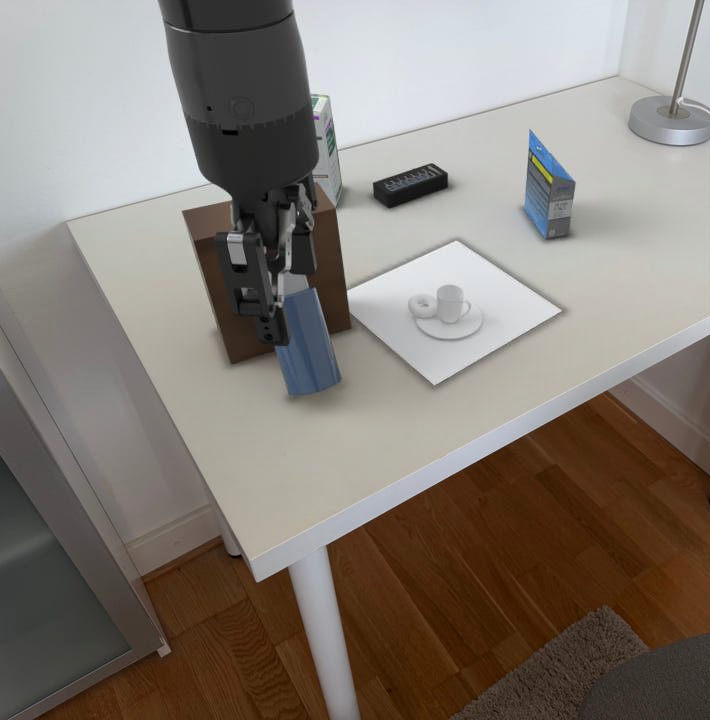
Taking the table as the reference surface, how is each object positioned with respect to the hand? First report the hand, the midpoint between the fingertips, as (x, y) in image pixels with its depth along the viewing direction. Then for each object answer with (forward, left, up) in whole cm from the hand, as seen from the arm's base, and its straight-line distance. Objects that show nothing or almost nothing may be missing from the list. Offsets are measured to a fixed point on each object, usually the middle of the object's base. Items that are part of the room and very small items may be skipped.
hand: (290, 305), depth 52 cm
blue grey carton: (+42, +28, -20) cm, 55 cm away
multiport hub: (+28, +44, -20) cm, 56 cm away
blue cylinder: (+2, +13, -20) cm, 23 cm away
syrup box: (+15, +48, -20) cm, 55 cm away
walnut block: (+2, +21, -20) cm, 29 cm away
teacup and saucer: (+21, +17, -20) cm, 34 cm away
